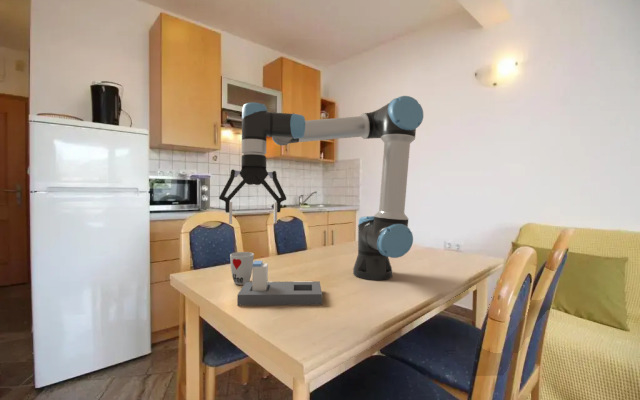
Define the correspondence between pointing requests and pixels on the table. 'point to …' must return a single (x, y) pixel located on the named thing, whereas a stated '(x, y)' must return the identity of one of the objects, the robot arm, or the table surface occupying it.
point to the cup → (241, 266)
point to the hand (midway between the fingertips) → (253, 223)
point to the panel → (282, 294)
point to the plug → (260, 276)
